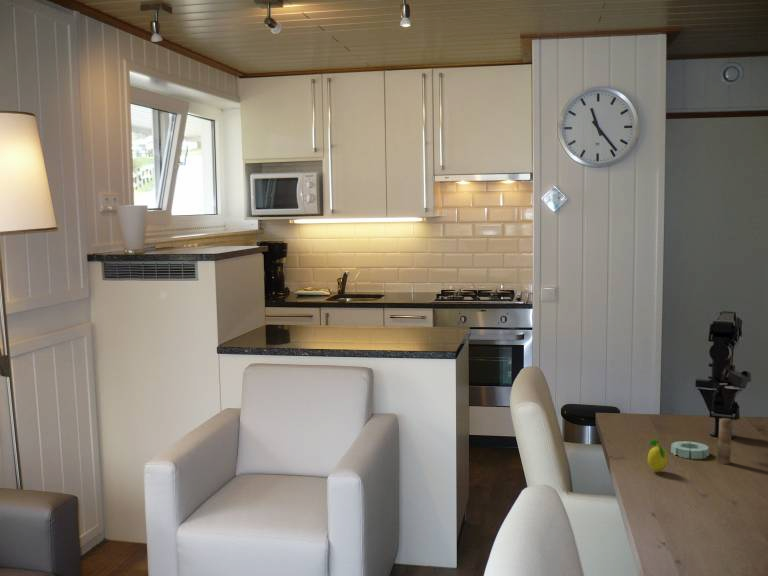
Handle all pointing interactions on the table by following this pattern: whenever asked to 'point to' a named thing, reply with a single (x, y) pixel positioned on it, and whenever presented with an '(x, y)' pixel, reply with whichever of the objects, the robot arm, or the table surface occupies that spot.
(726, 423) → the dowel
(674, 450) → the ring
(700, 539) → the table surface
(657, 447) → the lemon
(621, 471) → the table surface
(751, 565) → the table surface
